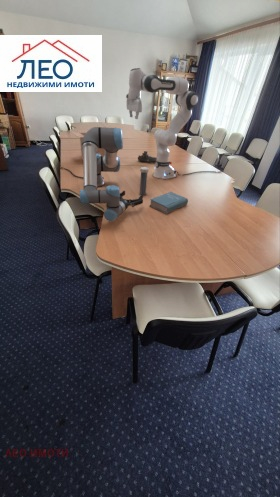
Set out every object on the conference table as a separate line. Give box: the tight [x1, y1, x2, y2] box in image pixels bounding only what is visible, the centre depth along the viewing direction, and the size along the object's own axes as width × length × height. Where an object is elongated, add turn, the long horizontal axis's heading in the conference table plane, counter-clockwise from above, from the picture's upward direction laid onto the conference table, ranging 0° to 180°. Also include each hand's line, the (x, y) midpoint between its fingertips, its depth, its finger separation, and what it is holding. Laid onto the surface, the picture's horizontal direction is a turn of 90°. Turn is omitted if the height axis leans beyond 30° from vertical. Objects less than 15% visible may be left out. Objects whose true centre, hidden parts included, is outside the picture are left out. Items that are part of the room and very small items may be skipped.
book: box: [149, 191, 189, 214], centre depth 157 cm, size 23×16×5 cm
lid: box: [139, 166, 149, 173], centre depth 162 cm, size 6×6×2 cm
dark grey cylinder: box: [139, 171, 148, 196], centre depth 168 cm, size 5×5×20 cm
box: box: [70, 130, 105, 160], centre depth 229 cm, size 44×36×27 cm
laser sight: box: [137, 150, 157, 164], centre depth 243 cm, size 10×22×10 cm, turn 78°
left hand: (133, 194), depth 155 cm, fingers open, 13 cm apart
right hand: (133, 118), depth 170 cm, fingers open, 8 cm apart
